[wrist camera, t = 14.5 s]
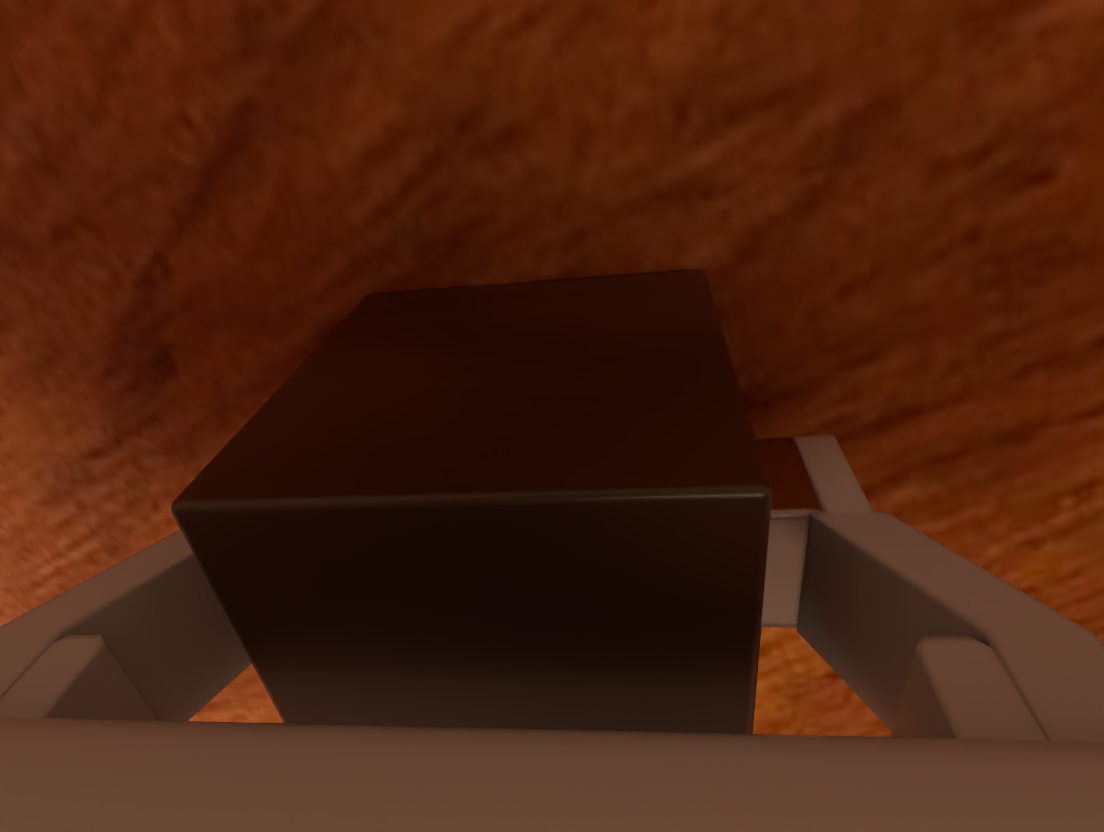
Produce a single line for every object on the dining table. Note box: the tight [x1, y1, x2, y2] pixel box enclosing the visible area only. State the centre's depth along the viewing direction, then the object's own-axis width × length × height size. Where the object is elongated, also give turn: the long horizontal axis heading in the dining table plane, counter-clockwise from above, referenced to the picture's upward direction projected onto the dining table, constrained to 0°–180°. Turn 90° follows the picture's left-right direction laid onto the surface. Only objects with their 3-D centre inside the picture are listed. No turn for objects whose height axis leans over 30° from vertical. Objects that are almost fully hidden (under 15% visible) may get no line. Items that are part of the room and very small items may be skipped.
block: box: [171, 270, 772, 734], centre depth 8 cm, size 5×5×5 cm
